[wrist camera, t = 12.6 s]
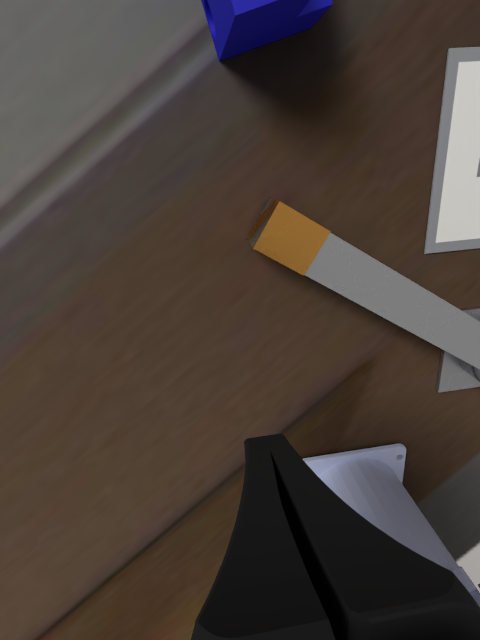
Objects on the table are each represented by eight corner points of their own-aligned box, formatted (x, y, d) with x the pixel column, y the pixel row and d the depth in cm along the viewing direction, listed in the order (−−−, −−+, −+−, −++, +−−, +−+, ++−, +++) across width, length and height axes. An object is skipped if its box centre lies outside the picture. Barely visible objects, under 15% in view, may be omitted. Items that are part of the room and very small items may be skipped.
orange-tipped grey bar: (526, 336, 26) (556, 351, 23) (487, 383, 27) (513, 402, 25) (276, 183, 20) (287, 186, 18) (239, 252, 21) (245, 262, 19)
